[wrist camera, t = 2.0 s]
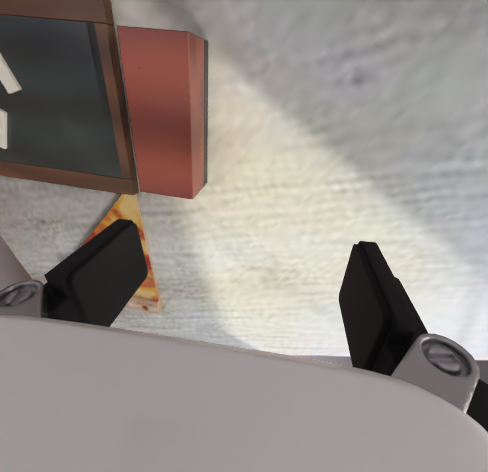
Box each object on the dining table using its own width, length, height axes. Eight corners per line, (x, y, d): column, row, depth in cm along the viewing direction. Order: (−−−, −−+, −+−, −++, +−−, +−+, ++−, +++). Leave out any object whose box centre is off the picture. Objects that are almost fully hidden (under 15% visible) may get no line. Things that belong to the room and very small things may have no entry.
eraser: (149, 36, 23) (116, 25, 18) (208, 41, 22) (188, 31, 18) (161, 176, 29) (140, 191, 25) (207, 182, 29) (192, 199, 25)
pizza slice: (225, 262, 35) (222, 271, 33) (143, 321, 45) (137, 331, 44) (135, 180, 31) (126, 185, 29) (67, 266, 41) (57, 274, 39)
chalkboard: (-108, -20, 24) (-126, -25, 23) (109, -5, 21) (100, -9, 20) (-18, 168, 33) (-28, 171, 32) (138, 192, 31) (133, 195, 30)
